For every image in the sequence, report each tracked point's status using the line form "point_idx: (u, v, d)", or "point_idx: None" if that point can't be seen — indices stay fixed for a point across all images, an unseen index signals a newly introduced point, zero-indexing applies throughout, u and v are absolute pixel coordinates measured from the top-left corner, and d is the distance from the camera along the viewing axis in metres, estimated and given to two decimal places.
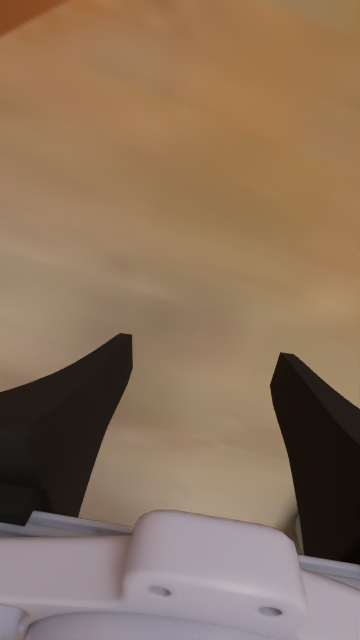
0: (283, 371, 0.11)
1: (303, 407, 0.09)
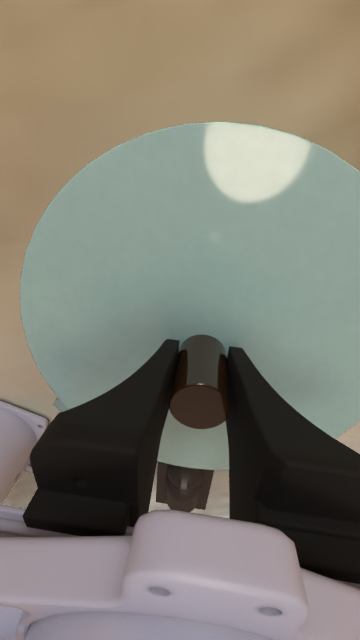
0: (229, 364, 0.11)
1: (238, 398, 0.09)
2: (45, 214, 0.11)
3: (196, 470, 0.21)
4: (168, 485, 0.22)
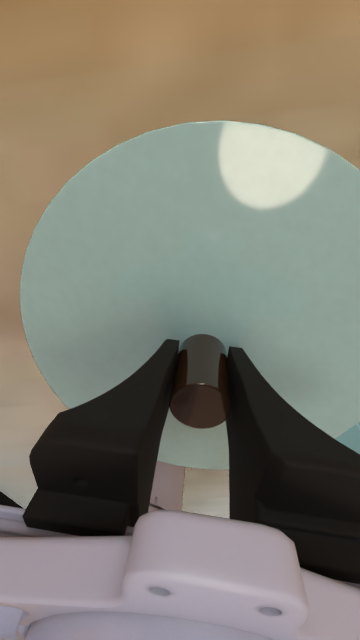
0: (229, 364, 0.11)
1: (238, 398, 0.09)
2: (46, 213, 0.11)
3: None
4: None
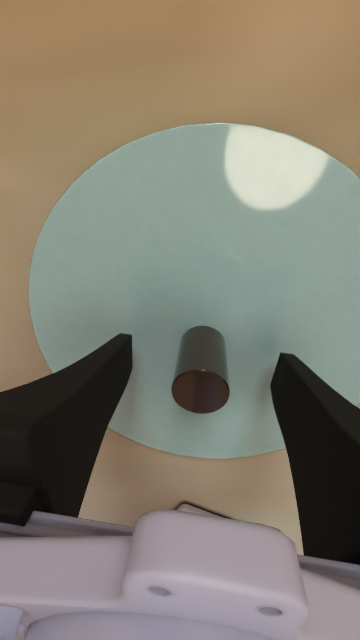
0: (283, 371, 0.11)
1: (303, 407, 0.09)
2: (54, 210, 0.11)
3: None
4: None
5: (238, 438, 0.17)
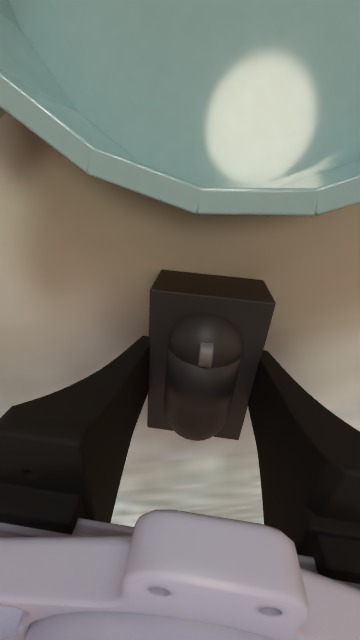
0: None
1: (269, 403, 0.09)
2: None
3: (231, 330, 0.10)
4: (171, 373, 0.11)
5: None
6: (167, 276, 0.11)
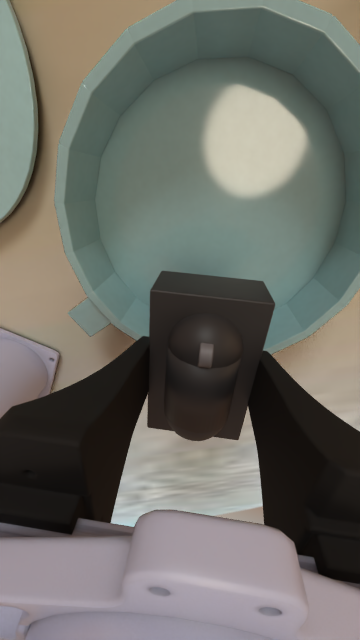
0: None
1: (269, 403, 0.09)
2: None
3: (231, 331, 0.10)
4: (171, 373, 0.11)
5: None
6: (167, 277, 0.11)
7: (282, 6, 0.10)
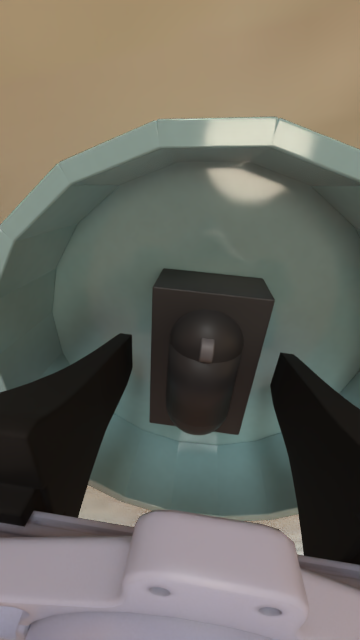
0: (283, 371, 0.11)
1: (303, 407, 0.09)
2: None
3: (232, 327, 0.10)
4: (172, 368, 0.11)
5: None
6: (169, 274, 0.12)
7: (305, 147, 0.06)
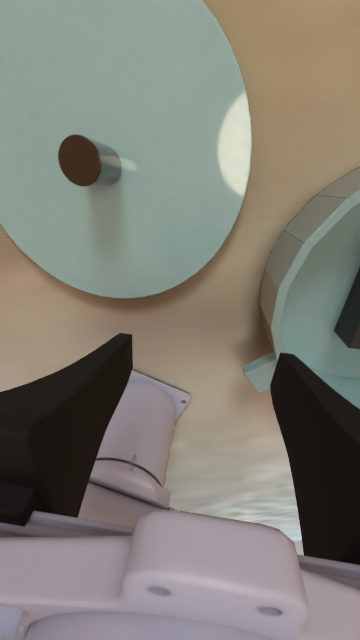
0: (283, 371, 0.11)
1: (303, 407, 0.09)
2: None
3: None
4: None
5: (148, 271, 0.20)
6: None
7: None
